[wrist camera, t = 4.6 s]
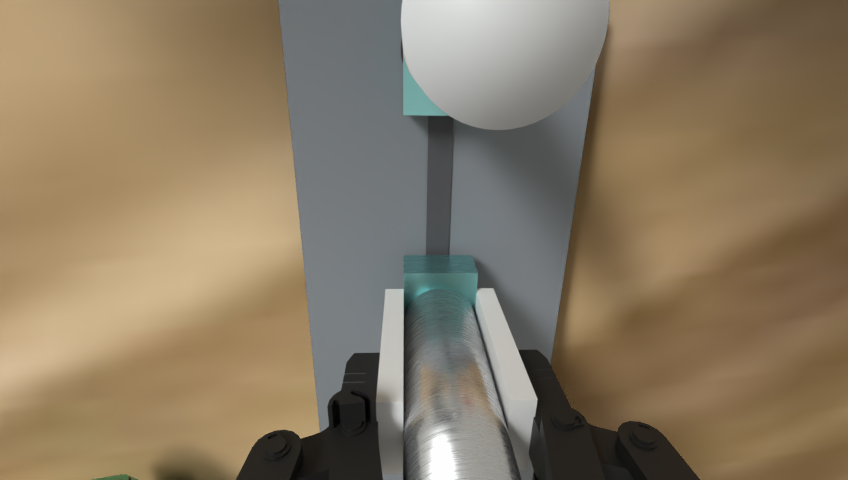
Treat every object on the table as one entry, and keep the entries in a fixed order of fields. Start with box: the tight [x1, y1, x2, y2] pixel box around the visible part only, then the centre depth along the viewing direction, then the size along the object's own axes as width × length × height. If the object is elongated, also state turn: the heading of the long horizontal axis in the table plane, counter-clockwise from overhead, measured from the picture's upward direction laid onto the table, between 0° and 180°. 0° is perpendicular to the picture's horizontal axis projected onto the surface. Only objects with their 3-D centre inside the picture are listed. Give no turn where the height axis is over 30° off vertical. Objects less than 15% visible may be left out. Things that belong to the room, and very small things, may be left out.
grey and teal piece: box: [278, 0, 609, 480], centre depth 16 cm, size 26×12×12 cm, turn 179°
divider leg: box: [403, 255, 522, 480], centre depth 15 cm, size 4×3×11 cm
